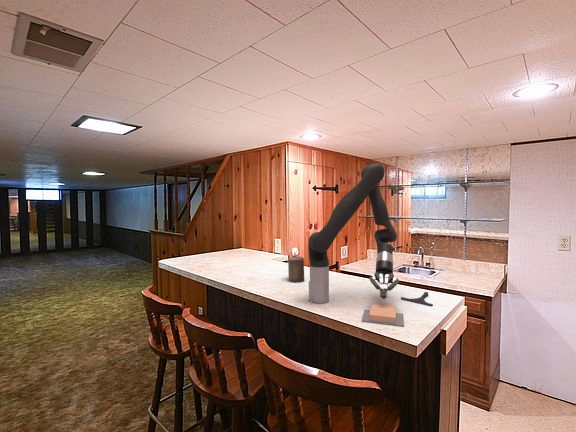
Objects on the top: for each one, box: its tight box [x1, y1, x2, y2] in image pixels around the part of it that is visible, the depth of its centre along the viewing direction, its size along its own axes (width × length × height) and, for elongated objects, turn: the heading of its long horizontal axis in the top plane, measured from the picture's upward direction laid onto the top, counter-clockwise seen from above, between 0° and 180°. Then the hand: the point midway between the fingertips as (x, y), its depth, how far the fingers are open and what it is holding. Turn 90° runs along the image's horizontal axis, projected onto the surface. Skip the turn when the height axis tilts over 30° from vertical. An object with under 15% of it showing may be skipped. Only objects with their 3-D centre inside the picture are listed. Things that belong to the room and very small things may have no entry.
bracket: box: [400, 291, 434, 308], centre depth 147 cm, size 14×15×3 cm
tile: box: [369, 303, 397, 324], centre depth 125 cm, size 10×2×13 cm
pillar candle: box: [287, 256, 305, 283], centre depth 183 cm, size 10×10×15 cm
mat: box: [361, 309, 405, 328], centre depth 124 cm, size 16×13×1 cm
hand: (383, 298), depth 129 cm, fingers closed
